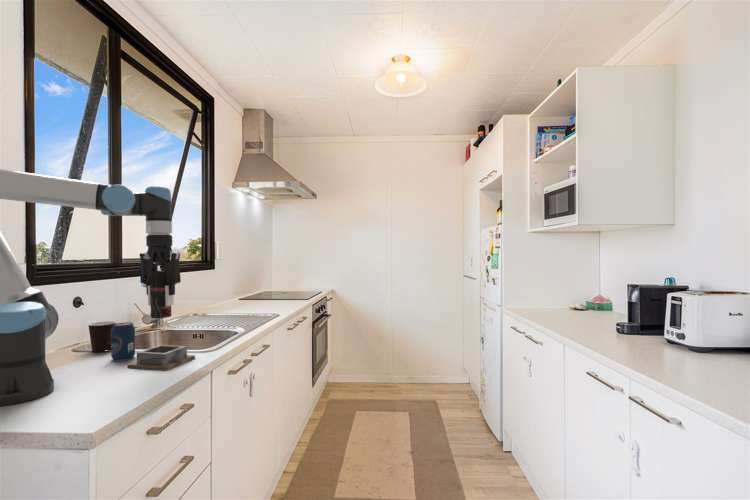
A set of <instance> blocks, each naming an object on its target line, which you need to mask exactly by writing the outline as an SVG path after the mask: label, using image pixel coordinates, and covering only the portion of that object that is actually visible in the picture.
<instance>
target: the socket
mask: <svg viewBox="0 0 750 500" xmlns="http://www.w3.org/2000/svg"><path fill="white" fill-rule="evenodd" d="M187 347H188V346H187V345H170V344H159V345H155V346H153V347H150V348H147V349H143V350H140V351H138V352H136V361H135V362H132V363H128V364H127V368H128V369H135V370H136V369H139V370H150V371H151V370H152V371H153V370H154V371H168V370H171V369H173V368H175V367H177V366H180V365H182V364H185V363H187V362H190V361H191V360H194V359H196V355H194V354H193V355H191V354H188V348H187Z"/></svg>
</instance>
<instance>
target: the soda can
mask: <svg viewBox="0 0 750 500" xmlns="http://www.w3.org/2000/svg"><path fill="white" fill-rule="evenodd" d="M110 354H111V359H112V360H113V361H116V362H121V361H123V362H124V361H128V360H132V359H133V358H134V356H135V355H136V328H135V325H134V323H133V322H116V324H114V325H113V328H112V330H111V350H110Z"/></svg>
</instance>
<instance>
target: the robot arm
mask: <svg viewBox="0 0 750 500" xmlns="http://www.w3.org/2000/svg"><path fill="white" fill-rule="evenodd" d="M171 192H172V191H171V189H170V188H169V187H166V186H160V185H159V186H157V185H156V186H155V185H153V186H151V185H150V186H146V187H145V188H144V192H143V191H142V192H134V191H132V190H131V188H130V187H128V186H126V185H123V184H117V183H116V184H106V183H99V182H93V181H85V180H79V179H74V178H72V179H71V178H65V177H59V176H58V177H57V176H50V175H43V174H36V173H30V172H22V171H16V170H9V169H2V168H0V200H4V201H5V200H7V201H8V200H9V201H15V202H16V201H17V202H22V203H23V202H25V203H31V204H32V203H33V204H35V203H36V204H42V205H52V206H58V207H59V206H60V207H69V208H78V209H87V210H95V211H96V210H97V211H100V213H101V214H102V215H103V216H112V217H117V216H118V217H119V216H121V217H123V216H127V217H130V216H131V217H134V216H136V217H137V216H138V217H145V233H146V234H147V235H146V236H145V238H146V239H145V240H146V241H145V242H146V243H145V246H146V247H147V252H143V253H139V258H140V277H139V278H140V279H139V281H140V283H141V284H143V285H145V286H146V287H145V289H146V292H145V293H146V295H147V302H148V303H147V305H148V306H150V307H151V302H150V271H158V267H159V266H161V267H162V271H165V277H166V281H167V284H166V285H167V286H165V295H166V306H170V305H171V306H174V305H175V304H174V303H175V301H174V298H175V297H174V296H175V294H176V284H180V283H181V268H180V257H181V253H180V252H175V251H173V250H172V247H173V236H172V233H173V221H172V219H173V217H172V215H173V214H172V213H173V210H172V209H173V208H172V206H173V205H172V202H173V201H172V193H171ZM59 317H60V316H59V314H58V310H56V308H55V306H53V305H52V304H51V303H49V301H48V300H47V298H46V297H45V295H44V293H43V291H42V290H40V289H37V288H33V287H32V285H31V284H30V282H29V280H28V278H27V276H26V274H25V272H24V271H23V270H22V267H21V266H20V264H19V261H18V260H17V258H16V257H15V254H14V253H13V251H12V249H11V247H10V246H9V243H8V242H7V240H6V238H5V236H4V234H2V232H1V230H0V407H1V406H3V407H4V406H10V405H14V404H15V405H16V404H21V403H26V402H28V401H32V400H36V399H39V398H42V397H44V396H47V395H48V394H49V395H50V393H52V392H53V391H54V389H55V380H54V378H53V376H52V373H51V371H50V369H49V368H50V367H49V366H48V364H47V361H46V360H47V359H46V339H48V338H49V337H50V336H51V335H52V334H53V333H54V332H55V331H56V329H57V327H58V324H59Z"/></svg>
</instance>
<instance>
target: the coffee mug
mask: <svg viewBox="0 0 750 500" xmlns="http://www.w3.org/2000/svg"><path fill="white" fill-rule="evenodd" d="M114 324H117V321H115V320H114V321H113V320H112V321H111V320H110V321H108V320H107V321H106V320H105V321H96V322H92V323H89V324H87V325H88V332H89V339H90V345H91V351H94V352H93V353H103V352H102V351H105V350H110V351H111V330H112V328H113V325H114Z"/></svg>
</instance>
